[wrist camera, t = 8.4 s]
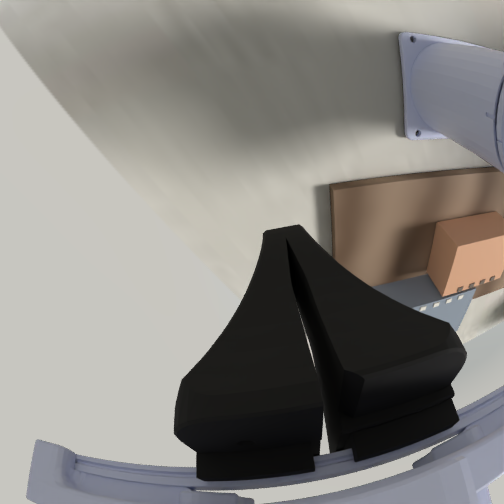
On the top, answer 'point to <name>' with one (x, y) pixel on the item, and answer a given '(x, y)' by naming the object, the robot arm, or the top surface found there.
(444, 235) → the tan rectangular block
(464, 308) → the block
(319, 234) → the top surface
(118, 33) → the top surface
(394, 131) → the top surface
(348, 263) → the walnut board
